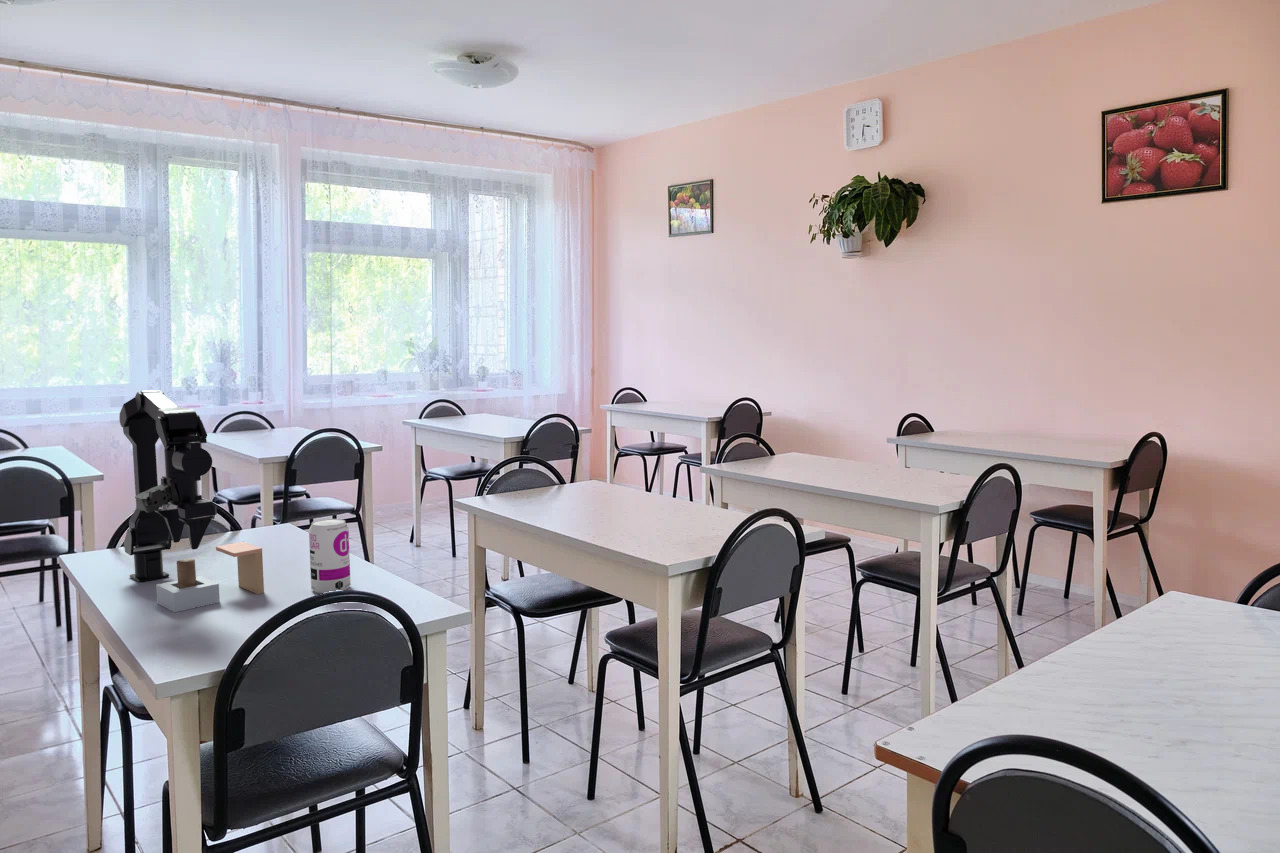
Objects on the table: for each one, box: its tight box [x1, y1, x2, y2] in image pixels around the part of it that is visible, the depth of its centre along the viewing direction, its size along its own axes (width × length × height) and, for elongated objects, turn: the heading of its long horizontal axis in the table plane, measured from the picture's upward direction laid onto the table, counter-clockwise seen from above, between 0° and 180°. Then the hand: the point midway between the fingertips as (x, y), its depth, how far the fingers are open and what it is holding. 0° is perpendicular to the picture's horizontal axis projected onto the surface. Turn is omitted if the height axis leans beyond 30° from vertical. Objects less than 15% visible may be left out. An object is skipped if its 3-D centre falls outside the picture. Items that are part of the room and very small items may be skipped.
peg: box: [176, 558, 197, 589], centre depth 189 cm, size 3×3×9 cm
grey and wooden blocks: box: [155, 541, 265, 613], centre depth 192 cm, size 9×18×10 cm, turn 138°
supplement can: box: [308, 518, 351, 594], centre depth 198 cm, size 8×8×15 cm
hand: (185, 545), depth 188 cm, fingers open, 9 cm apart
